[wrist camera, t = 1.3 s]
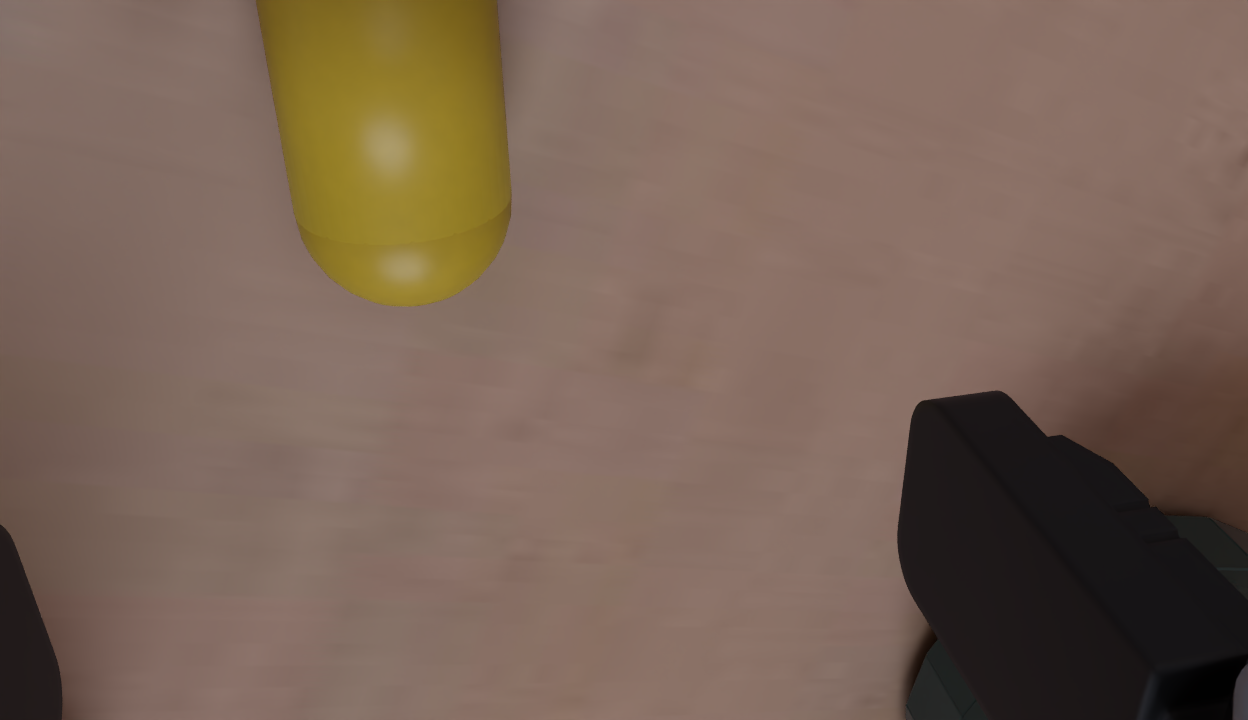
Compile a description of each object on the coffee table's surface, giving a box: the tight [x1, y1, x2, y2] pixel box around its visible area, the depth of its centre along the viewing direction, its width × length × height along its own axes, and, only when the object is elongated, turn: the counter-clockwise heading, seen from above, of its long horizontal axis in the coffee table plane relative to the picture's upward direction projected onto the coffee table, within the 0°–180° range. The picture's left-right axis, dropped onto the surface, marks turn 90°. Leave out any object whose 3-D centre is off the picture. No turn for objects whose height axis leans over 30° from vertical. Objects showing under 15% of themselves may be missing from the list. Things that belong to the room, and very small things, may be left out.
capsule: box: [256, 0, 511, 306], centre depth 23 cm, size 11×5×5 cm, turn 1°
